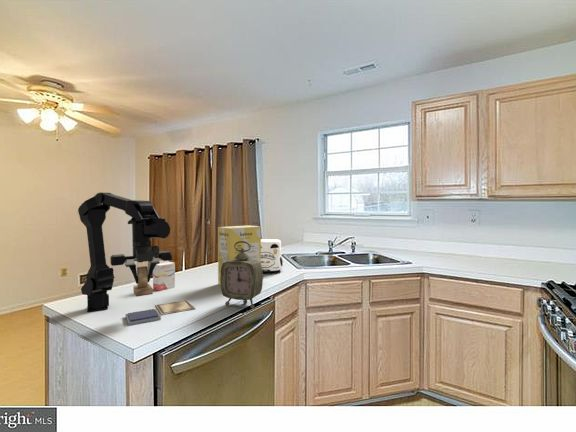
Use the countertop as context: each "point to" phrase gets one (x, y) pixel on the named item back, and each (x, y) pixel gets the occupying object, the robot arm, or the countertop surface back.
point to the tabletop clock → (241, 277)
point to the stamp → (142, 282)
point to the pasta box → (233, 235)
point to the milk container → (271, 255)
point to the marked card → (175, 307)
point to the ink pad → (142, 316)
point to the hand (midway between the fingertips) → (142, 282)
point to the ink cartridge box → (164, 275)
